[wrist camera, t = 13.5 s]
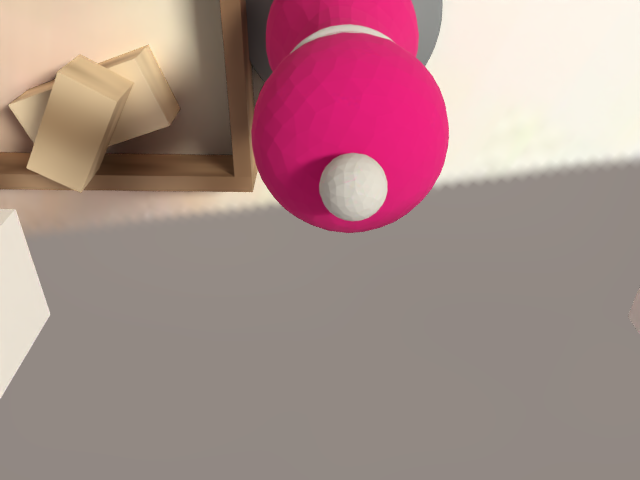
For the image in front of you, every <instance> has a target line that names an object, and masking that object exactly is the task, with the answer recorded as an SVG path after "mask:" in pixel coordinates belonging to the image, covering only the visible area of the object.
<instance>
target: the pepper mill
mask: <svg viewBox="0 0 640 480" xmlns="http://www.w3.org/2000/svg"><path fill="white" fill-rule="evenodd" d="M418 41H419V32H418V25H417V18H416V14H415V10H414V6H413V4H412V1H411V0H274V1H273V3H272V5H271V7H270V11H269V15H268V19H267V26H266V52H267V56H268V61H269V65H270V67H271V70H272V72H273V73H272V74H271V75H270V77H269V78H268V79H267V80H266V82H265V83H264V85H263V87H262V89H261V91H260V93H259V96H258V99H257V102H256V105H255V109H254V115H253V122H252V129H251V135H252V149H253V154H254V158H255V163H256V166H257V169H258V171H259V173H260V176H261V178H262V180H263V182H264V183H265V185H266V186H267V188H268V190H269V191H270V192H271V194H272V195H273V196H274V198H275V199H276V200H277V201H278V202H279V203H280V204H281V205H282V206H283V207H284V208H285V209H286V210H287V211H289V212H290V213H292V214H293V215H294V216H296V217H297V218H299V219H301V220H303V221H305V222H307V223H309V224H311V225H313V226H316V227H319V228H322V229H326V230H329V231H336V232H345V233H353V232H364V231H368V230H372V229H377V228H380V227H383V226H385V225H388V224H390V223H393V222H395V221H396V220H398V219H400V218H401V217H403V216H404V215H406V214H407V213H409V212H410V211H411V210H412V209H413V208H414V207H415V206H416V205H418V204H419V203H420V202H421V201H422V200H423V199H424V197H425V196H426V195H427V194H428V193H429V191H430V190H431V189H432V187H433V185H434V184H435V182H436V180H437V178H438V177H439V175H440V173H441V170H442V168H443V165H444V161H445V157H446V153H447V148H448V139H449V126H448V119H447V113H446V107H445V102H444V100H443V97H442V94H441V91H440V89H439V87H438V85H437V83H436V82H435V80H434V78H433V76H432V75H431V74H430V72H429V71H428V70H427V69H426V68H425V66H424V65H423V64H422V63H421V62H420V61H419V60H418V59H417V58H416V55H417V51H418Z"/></svg>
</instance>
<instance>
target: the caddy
mask: <svg viewBox="0 0 640 480" xmlns="http://www.w3.org/2000/svg"><path fill="white" fill-rule="evenodd" d="M220 9H221V21H222V33H223V45H224V57H225V68H226V80H227V92H228V104H229V116H230V127H231V139H232V151H233V155H191V154H105V156H104V158H103V161H102V163H101V166H100V168H99V170H98V171H97V172H96V174H95V175H94V176H93V178H92V179H91V180H90V182H89V183H88V184H87V186H86V187H85V188H84V190H123V191H212V192H253V188H254V184H255V179H256V175H257V171H258V169H257V166H256V163H255V158H254V154H253V149H252V135H251V129H252V122H253V115H254V98H253V81H252V64H251V62H250V60H249V45H248V29H247V13H246V0H220ZM30 155H31V153H7V152H0V189H34V190H73V189H71V188H69V187H67V186H64V185H62V184H60V183H58V182H56V181H53V180H51V179H49V178H47V177H45V176H42V175H40V174H38V173H36V172H34V171H32V170H29V169H27V168H26V167H27V164H28V161H29V158H30Z"/></svg>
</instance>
